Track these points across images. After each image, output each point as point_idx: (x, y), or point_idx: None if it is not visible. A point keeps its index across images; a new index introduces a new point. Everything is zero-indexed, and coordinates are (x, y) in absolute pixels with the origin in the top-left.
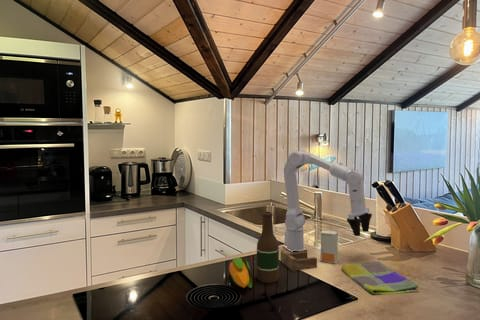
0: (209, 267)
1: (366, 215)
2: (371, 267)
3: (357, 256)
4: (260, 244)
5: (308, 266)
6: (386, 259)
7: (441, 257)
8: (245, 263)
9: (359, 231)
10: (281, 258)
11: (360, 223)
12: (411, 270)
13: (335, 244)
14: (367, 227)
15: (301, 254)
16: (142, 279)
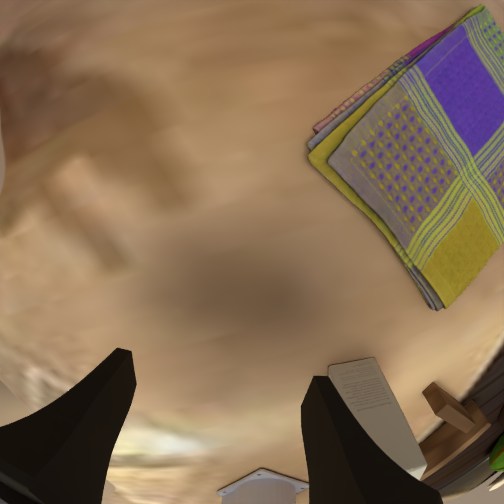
0: (458, 487)
1: (58, 499)
2: (401, 185)
3: (205, 312)
4: None
5: (450, 397)
6: (161, 159)
7: (32, 4)
8: (501, 457)
9: (343, 405)
10: None
11: (356, 476)
12: (277, 10)
13: (403, 420)
14: (113, 380)
15: None
16: (501, 480)
